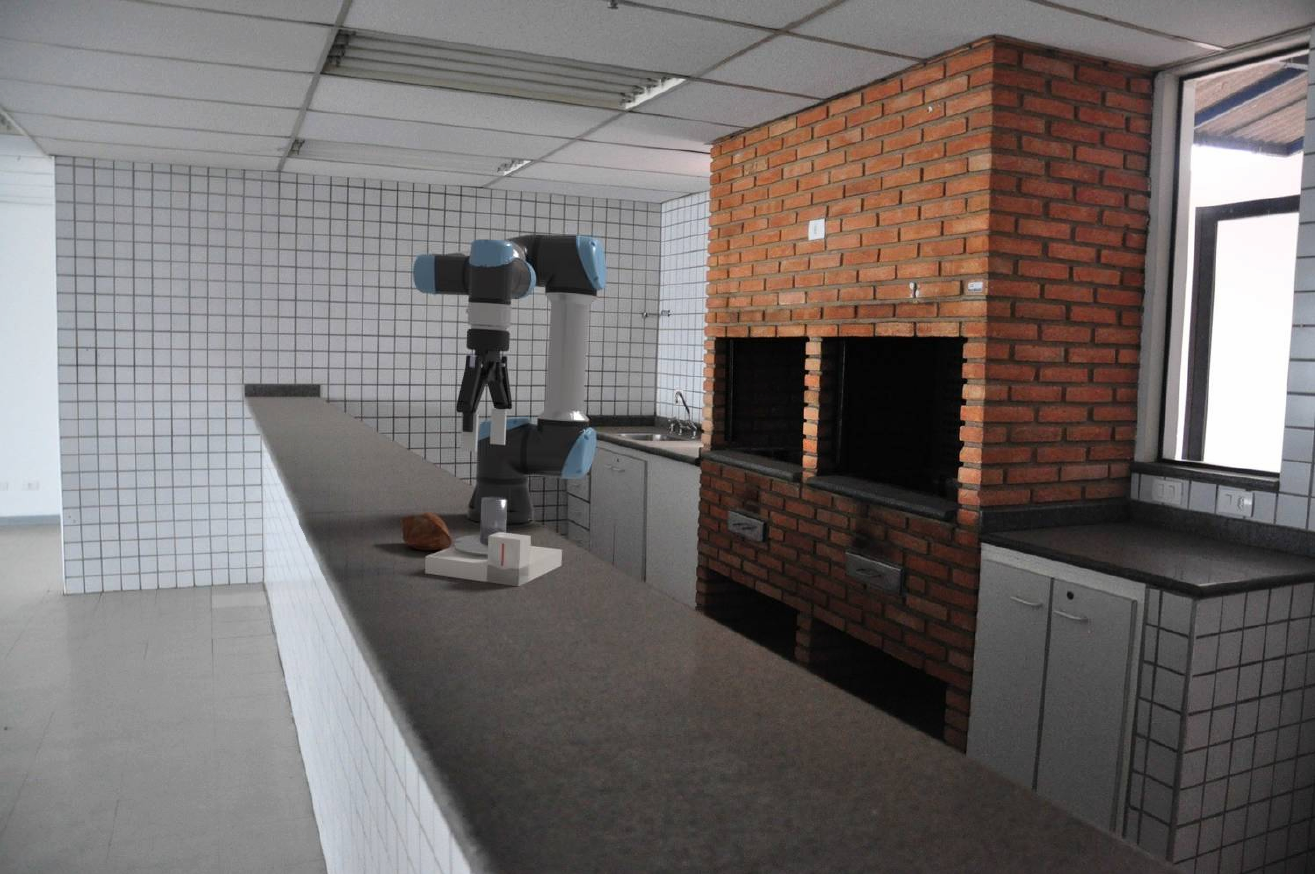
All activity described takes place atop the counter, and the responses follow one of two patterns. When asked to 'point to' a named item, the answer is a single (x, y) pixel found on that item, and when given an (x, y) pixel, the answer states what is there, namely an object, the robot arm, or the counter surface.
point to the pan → (471, 545)
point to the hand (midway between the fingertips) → (483, 447)
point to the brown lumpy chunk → (425, 532)
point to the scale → (497, 561)
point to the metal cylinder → (492, 517)
